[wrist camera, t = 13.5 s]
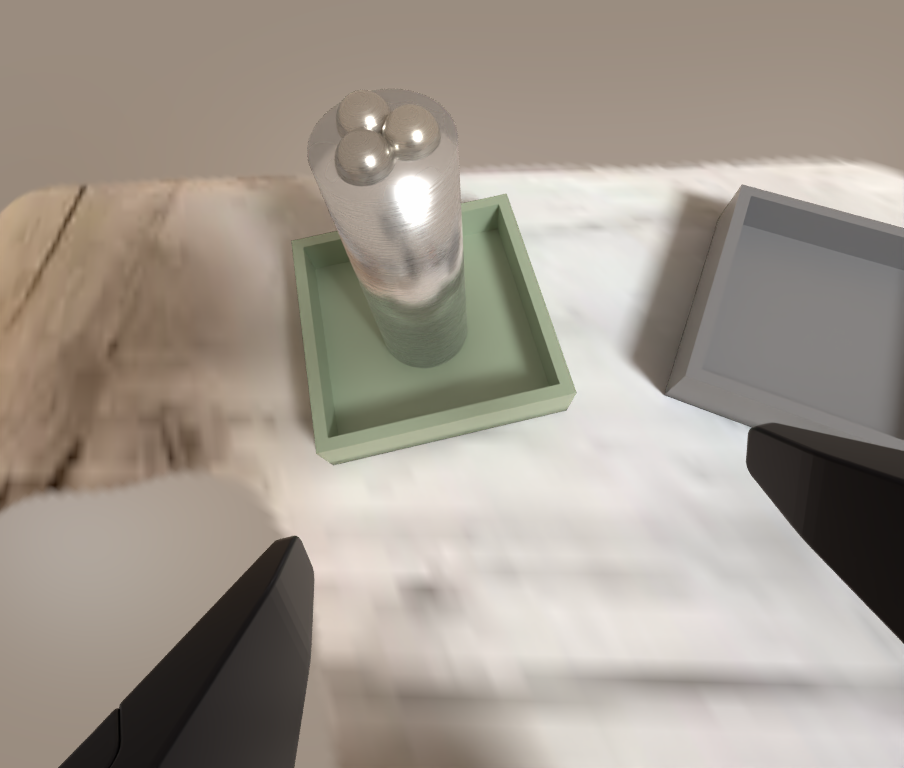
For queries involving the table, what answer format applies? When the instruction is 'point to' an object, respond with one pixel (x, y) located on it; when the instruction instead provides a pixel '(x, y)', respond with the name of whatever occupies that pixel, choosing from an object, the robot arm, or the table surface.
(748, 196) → the tray
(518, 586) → the table surface
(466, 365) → the tray
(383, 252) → the pebble canister
